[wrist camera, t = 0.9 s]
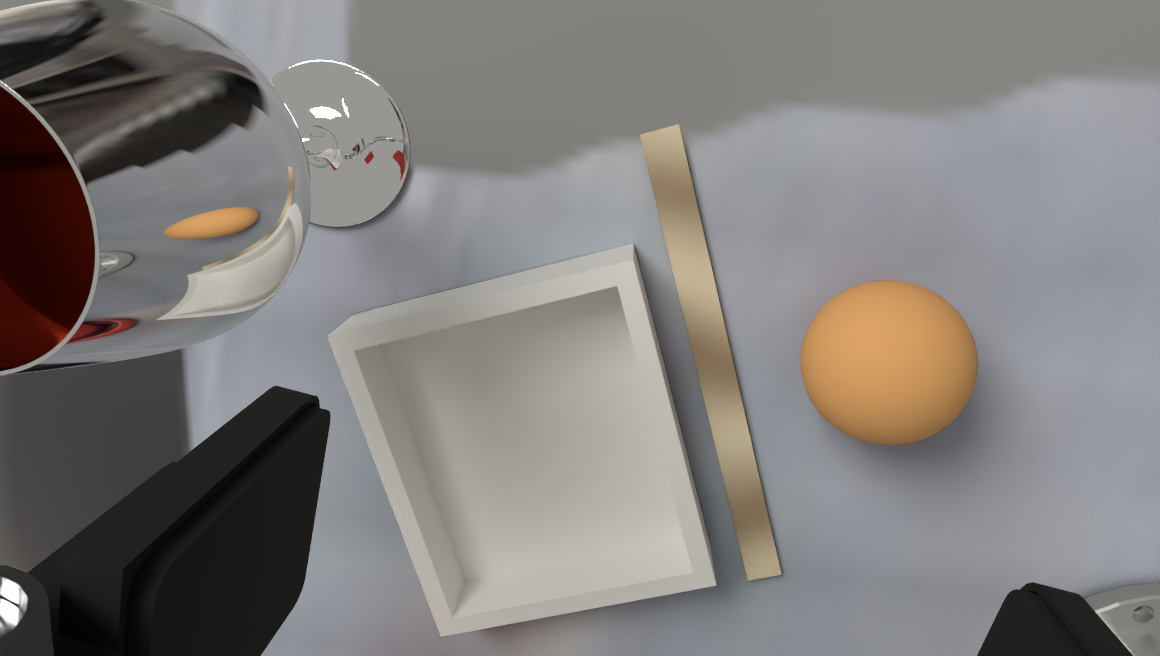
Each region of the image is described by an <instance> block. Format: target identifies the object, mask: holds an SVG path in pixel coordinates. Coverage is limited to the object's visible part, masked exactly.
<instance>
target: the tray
mask: <svg viewBox="0 0 1160 656" xmlns="http://www.w3.org/2000/svg"><path fill="white" fill-rule="evenodd" d="M327 337H328V340H329V343H330V345H331V348H332V351H333V353H334V356H335V358H336V361H337V364H338V366H339V369H340V372H341V374H342V377H343V380H344V382H345V385H346V388H347V390H348V393H349V395H350V398H351V401H352V403H353V406H354V409H355V411H356V414H357V417H358V419H359V422H360V424H361V427H362V430H363V432H364V435H365V438H366V440H367V443H368V446H369V448H370V451H371V454H372V456H373V459H374V461H375V464H376V467H377V469H378V472H379V475H380V477H381V480H382V483H383V485H384V488H385V490H386V493H387V496H388V498H389V501H390V504H391V506H392V509H393V512H394V514H395V517H396V520H397V522H398V525H399V527H400V530H401V533H402V535H403V538H404V541H405V543H406V546H407V549H408V551H409V554H410V556H411V559H412V562H413V564H414V567H415V570H416V572H417V575H418V578H419V580H420V583H421V586H422V588H423V591H424V593H425V596H426V599H427V601H428V604H429V607H430V609H431V612H432V615H433V617H434V620H435V622H436V625H437V628H438V630H439V633H440V636H441V637H443V636H448V635H454V634H459V633H464V632H470V631H475V630H481V629H486V628H491V627H497V626H502V625H507V624H513V623H518V622H524V621H529V620H534V619H540V618H545V617H550V616H556V615H561V614H567V613H572V612H577V611H583V610H588V609H593V608H599V607H604V606H610V605H615V604H620V603H626V602H631V601H637V600H642V599H647V598H653V597H658V596H663V595H669V594H674V593H680V592H685V591H690V590H696V589H701V588H706V587H712V586H717V585H716V579H715V573H714V566H713V560H712V554H711V548H710V542H709V539H708V535H707V531H706V527H705V523H704V519H703V515H702V511H701V507H700V503H699V499H698V495H697V491H696V487H695V483H694V480H693V476H692V472H691V468H690V464H689V460H688V456H687V452H686V448H685V444H684V440H683V436H682V432H681V428H680V425H679V421H678V417H677V413H676V409H675V405H674V401H673V397H672V393H671V389H670V385H669V381H668V377H667V373H666V369H665V366H664V362H663V358H662V354H661V350H660V346H659V342H658V338H657V334H656V330H655V326H654V322H653V318H652V314H651V311H650V307H649V303H648V299H647V295H646V291H645V287H644V283H643V279H642V275H641V271H640V267H639V263H638V259H637V255H636V252H635V248H634V244H629V245H625V246H621V247H617V248H613V249H609V250H605V251H602V252H598V253H594V254H590V255H586V256H582V257H578V258H574V259H570V260H566V261H562V262H558V263H554V264H550V265H546V266H542V267H538V268H534V269H530V270H526V271H522V272H518V273H515V274H511V275H507V276H503V277H499V278H495V279H491V280H487V281H483V282H479V283H475V284H471V285H467V286H463V287H459V288H455V289H451V290H447V291H443V292H439V293H435V294H431V295H428V296H424V297H420V298H416V299H412V300H408V301H404V302H400V303H396V304H392V305H388V306H384V307H380V308H376V309H372V310H368V311H364V312H360V313H356V314H354V315H352V316H351V317H350V318H349V319H347V320H346V321H345V322H344V323H343V324H341V325H340V326H339V327H338V328H336V329H335V330H334V331H333V332H332V333H330V334H329V335H328V336H327Z"/></svg>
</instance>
